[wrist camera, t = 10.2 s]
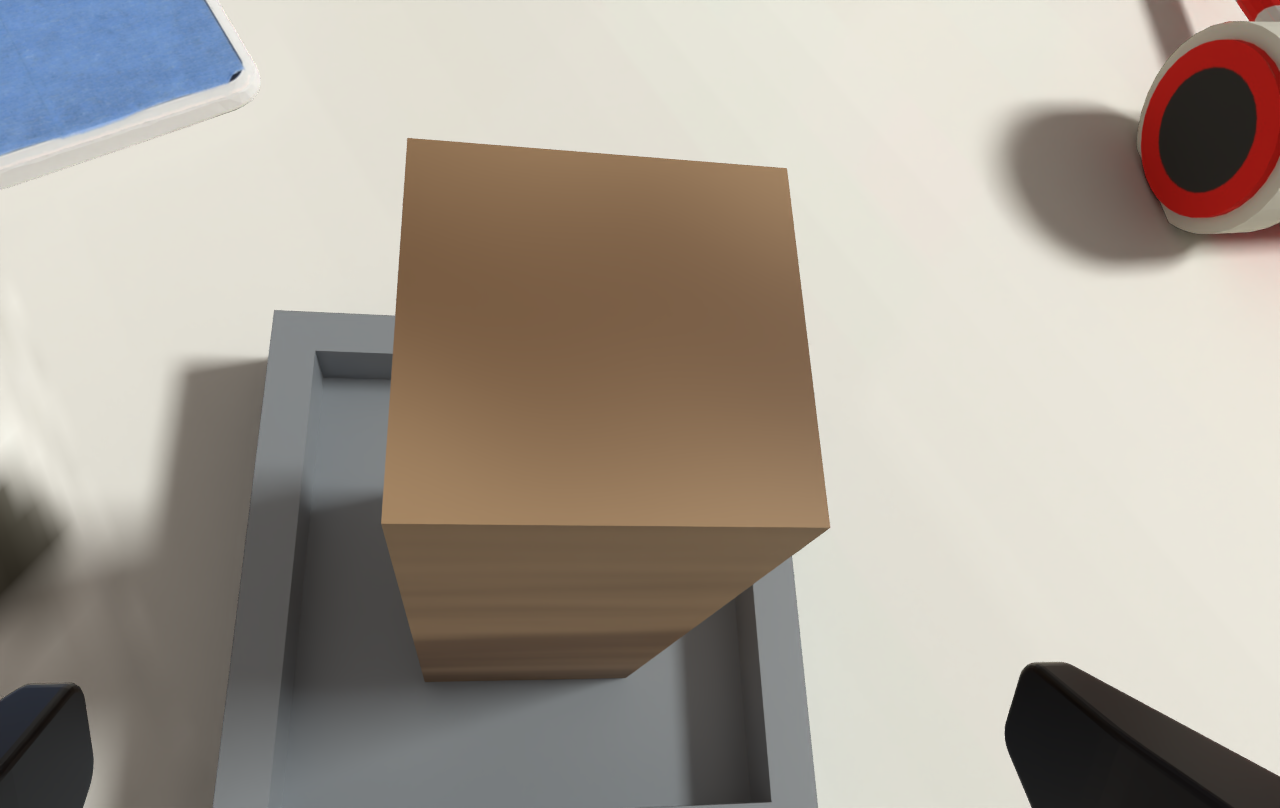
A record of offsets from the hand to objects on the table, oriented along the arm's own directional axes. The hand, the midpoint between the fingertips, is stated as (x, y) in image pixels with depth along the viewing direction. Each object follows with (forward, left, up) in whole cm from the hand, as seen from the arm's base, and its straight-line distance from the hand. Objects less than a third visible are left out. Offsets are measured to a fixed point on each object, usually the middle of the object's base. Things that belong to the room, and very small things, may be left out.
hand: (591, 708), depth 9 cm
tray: (+4, +1, -14) cm, 14 cm away
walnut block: (+4, +1, -13) cm, 13 cm away
